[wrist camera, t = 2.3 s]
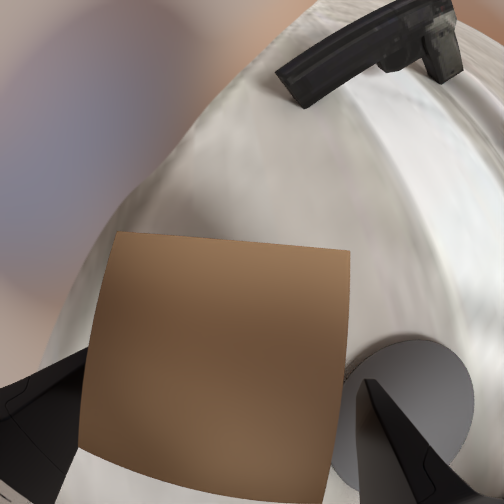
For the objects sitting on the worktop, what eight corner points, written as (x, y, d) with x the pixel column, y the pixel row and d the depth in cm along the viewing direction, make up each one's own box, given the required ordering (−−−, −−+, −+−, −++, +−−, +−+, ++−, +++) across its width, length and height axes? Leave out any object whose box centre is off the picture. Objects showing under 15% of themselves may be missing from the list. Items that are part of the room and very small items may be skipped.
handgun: (324, 143, 35) (271, 68, 22) (451, 60, 26) (444, -23, 13) (334, 155, 34) (284, 81, 21) (463, 70, 25) (461, -15, 12)
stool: (291, 418, 15) (322, 503, 4) (197, 405, 16) (78, 446, 5) (302, 326, 17) (349, 250, 6) (210, 316, 18) (117, 231, 7)
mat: (422, 504, 11) (426, 506, 11) (292, 466, 14) (293, 469, 13) (487, 370, 14) (492, 369, 14) (374, 314, 17) (377, 312, 17)
